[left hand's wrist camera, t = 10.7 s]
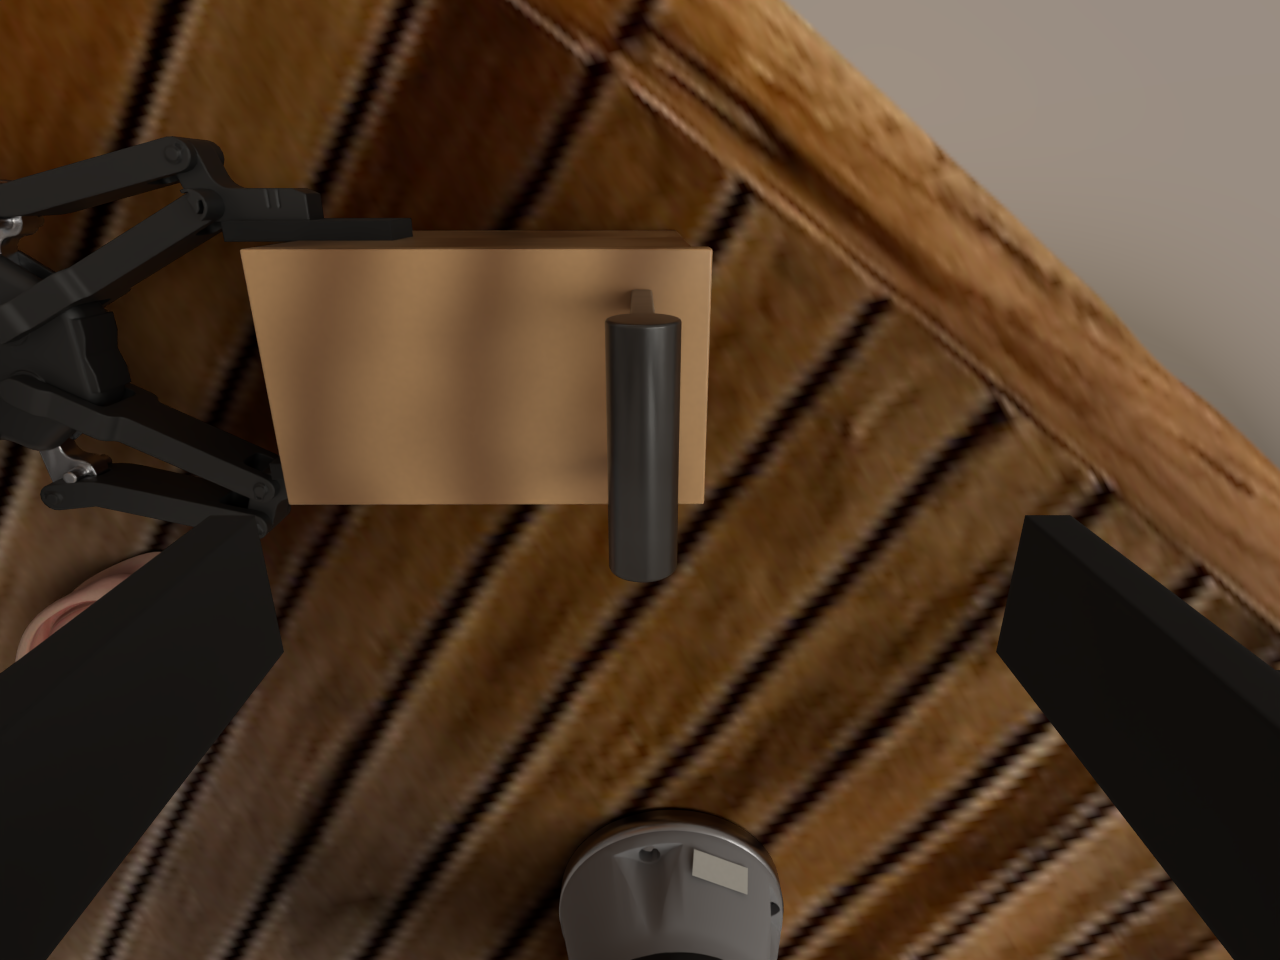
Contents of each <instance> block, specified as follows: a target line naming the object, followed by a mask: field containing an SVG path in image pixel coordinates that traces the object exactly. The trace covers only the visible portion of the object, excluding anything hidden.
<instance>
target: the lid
mask: <svg viewBox="0 0 1280 960" xmlns="http://www.w3.org/2000/svg"><path fill="white" fill-rule="evenodd" d="M240 254H241V259H242V264H243V269H244V275H245V280H246V285H247V290H248V295H249V300H250V306H251V311H252V316H253V321H254V326H255V331H256V337H257V342H258V347H259V352H260V357H261V362H262V368H263V373H264V378H265V383H266V388H267V393H268V399H269V404H270V409H271V414H272V419H273V424H274V430H275V435H276V440H277V445H278V450H279V456H280V461H281V466H282V471H283V476H284V481H285V487H286V492H287V497H288V502H289V504H290V505H346V504H608V529H609V567H610V569H611V571H612V572H613V573H614V574H615V575H616V576H618V577H619V578H622V579H625V580H628V581H633V582H653V581H658V580H662V579H664V578H667V577H668V576H670V575H671V574H673V572H674V571H675V569H676V567H677V530H678V504H703V503H704V485H705V455H706V426H707V396H708V367H709V338H710V308H711V279H712V249H711V248H710V247H252V248H246V249H241V250H240Z"/></svg>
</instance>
